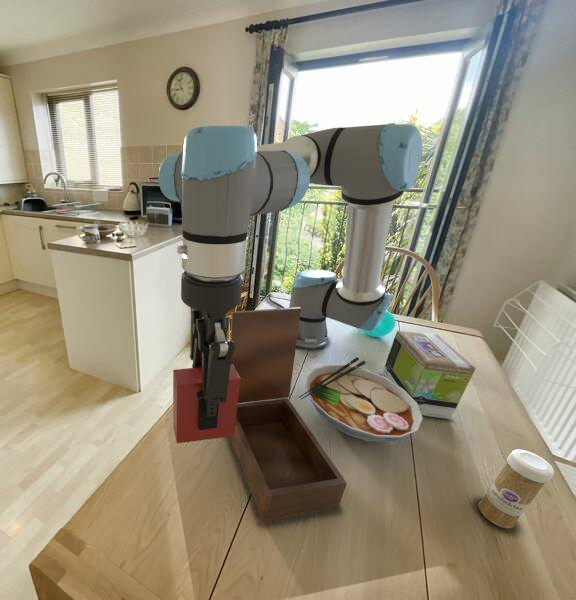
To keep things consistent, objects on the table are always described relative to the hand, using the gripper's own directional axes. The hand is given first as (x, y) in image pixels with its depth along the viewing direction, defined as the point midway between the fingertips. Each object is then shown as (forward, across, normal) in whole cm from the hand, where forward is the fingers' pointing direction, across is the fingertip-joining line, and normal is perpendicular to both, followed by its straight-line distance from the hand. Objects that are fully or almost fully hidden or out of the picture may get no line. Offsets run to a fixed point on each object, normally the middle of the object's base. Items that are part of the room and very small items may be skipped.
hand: (203, 416), depth 47 cm
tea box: (+19, -17, +60) cm, 65 cm away
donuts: (+19, -48, +73) cm, 90 cm away
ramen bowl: (+19, -12, +39) cm, 45 cm away
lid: (+1, -15, +16) cm, 22 cm away
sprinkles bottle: (+19, +11, +49) cm, 54 cm away
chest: (+19, -4, +16) cm, 25 cm away
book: (+3, 0, 0) cm, 3 cm away
